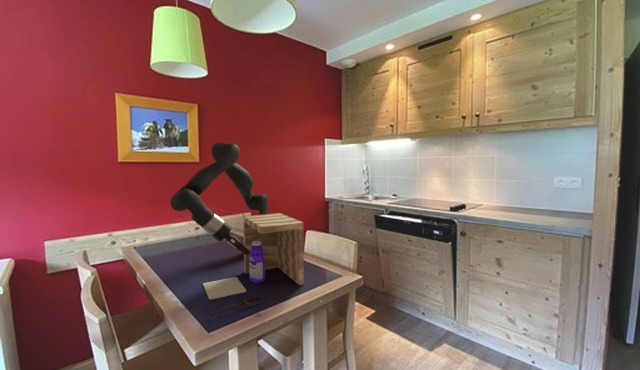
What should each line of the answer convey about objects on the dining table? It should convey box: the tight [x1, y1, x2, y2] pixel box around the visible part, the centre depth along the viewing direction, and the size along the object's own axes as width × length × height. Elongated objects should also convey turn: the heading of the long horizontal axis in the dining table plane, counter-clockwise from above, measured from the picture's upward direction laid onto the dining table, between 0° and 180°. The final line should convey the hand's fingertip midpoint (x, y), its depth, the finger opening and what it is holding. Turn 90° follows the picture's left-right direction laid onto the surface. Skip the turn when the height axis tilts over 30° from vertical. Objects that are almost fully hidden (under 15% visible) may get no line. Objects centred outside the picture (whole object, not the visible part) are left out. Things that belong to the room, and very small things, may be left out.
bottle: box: [248, 241, 266, 285], centre depth 127 cm, size 7×6×17 cm
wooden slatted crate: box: [242, 212, 305, 286], centre depth 130 cm, size 26×18×26 cm
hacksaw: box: [200, 295, 263, 329], centre depth 102 cm, size 24×10×2 cm, turn 124°
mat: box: [202, 276, 247, 300], centre depth 121 cm, size 16×14×1 cm
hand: (245, 250), depth 124 cm, fingers open, 8 cm apart
